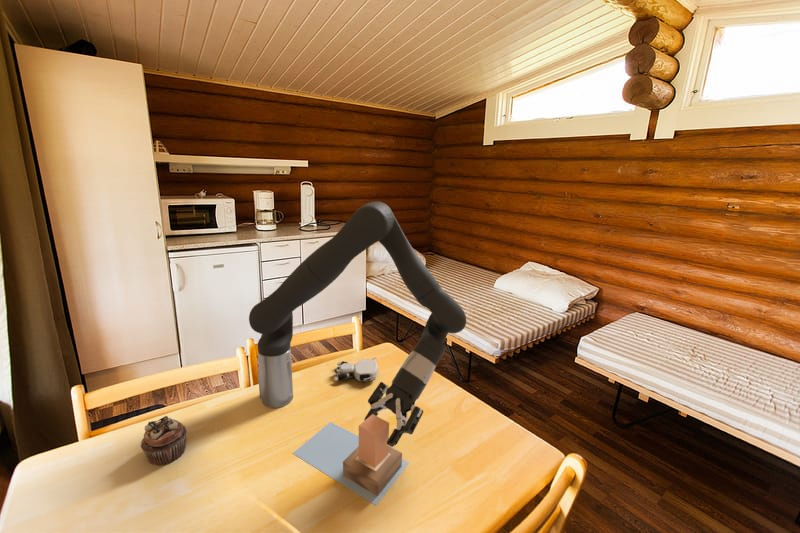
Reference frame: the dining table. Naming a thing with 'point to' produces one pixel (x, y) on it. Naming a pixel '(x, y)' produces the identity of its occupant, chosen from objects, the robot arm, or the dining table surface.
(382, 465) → the walnut foundation
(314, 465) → the board
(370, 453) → the terracotta block
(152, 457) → the cupcake
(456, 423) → the dining table surface
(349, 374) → the robot toy
